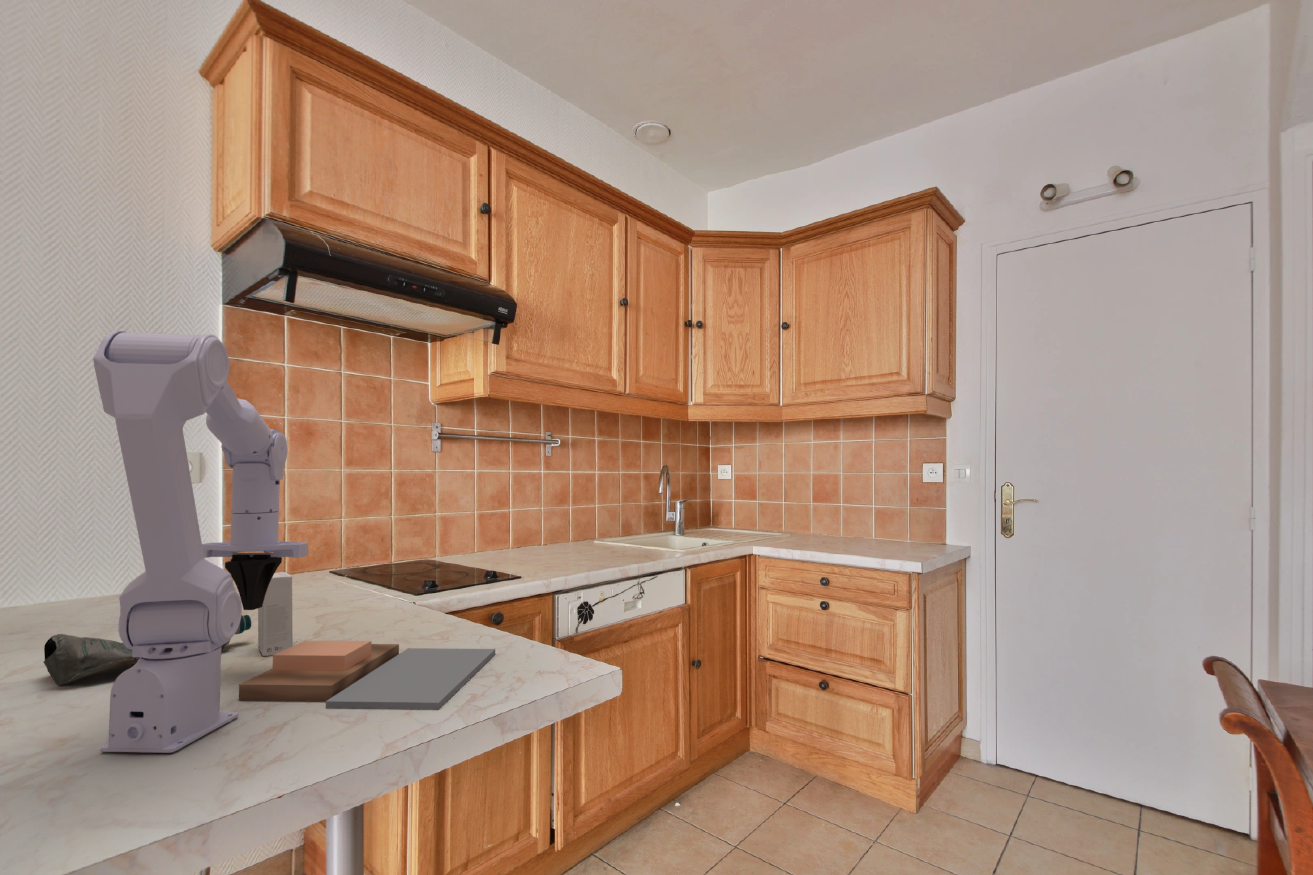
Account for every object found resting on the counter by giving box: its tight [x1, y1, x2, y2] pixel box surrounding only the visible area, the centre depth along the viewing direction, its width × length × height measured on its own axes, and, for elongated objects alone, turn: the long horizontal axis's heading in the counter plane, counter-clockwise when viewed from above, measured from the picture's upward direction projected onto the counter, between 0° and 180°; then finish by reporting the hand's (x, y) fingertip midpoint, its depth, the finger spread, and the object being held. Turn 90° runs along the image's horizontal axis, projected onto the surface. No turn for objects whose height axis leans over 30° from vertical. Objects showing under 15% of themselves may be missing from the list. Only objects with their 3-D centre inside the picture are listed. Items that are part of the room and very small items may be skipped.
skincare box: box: [257, 571, 294, 657], centre depth 99 cm, size 6×4×12 cm
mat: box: [325, 647, 496, 710], centre depth 85 cm, size 22×14×1 cm, turn 177°
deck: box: [238, 643, 400, 703], centre depth 86 cm, size 18×12×2 cm, turn 177°
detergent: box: [43, 614, 252, 687], centre depth 93 cm, size 13×7×25 cm
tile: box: [271, 640, 372, 671], centre depth 86 cm, size 7×10×2 cm
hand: (252, 608), depth 87 cm, fingers closed
